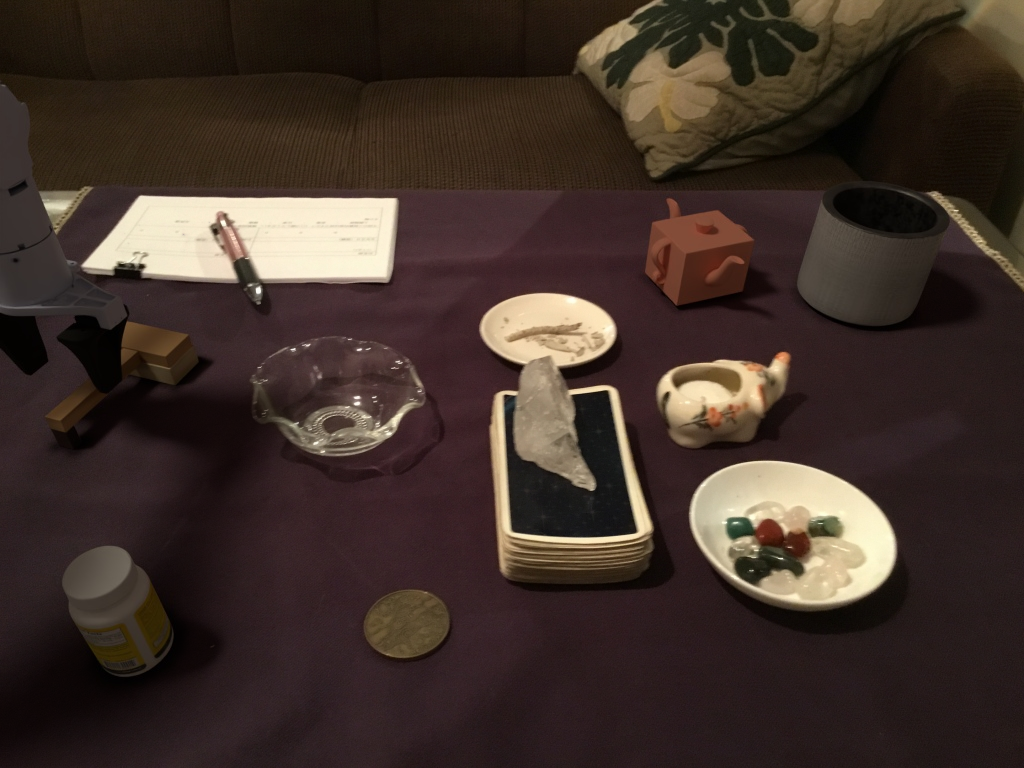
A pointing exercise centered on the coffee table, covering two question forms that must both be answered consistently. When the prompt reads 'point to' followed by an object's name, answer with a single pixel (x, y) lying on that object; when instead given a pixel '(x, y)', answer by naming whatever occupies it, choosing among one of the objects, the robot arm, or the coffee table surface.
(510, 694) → the coffee table surface
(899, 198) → the planter
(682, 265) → the teapot
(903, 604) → the coffee table surface
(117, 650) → the supplement bottle
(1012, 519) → the coffee table surface
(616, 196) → the coffee table surface
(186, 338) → the brown t-shaped piece
